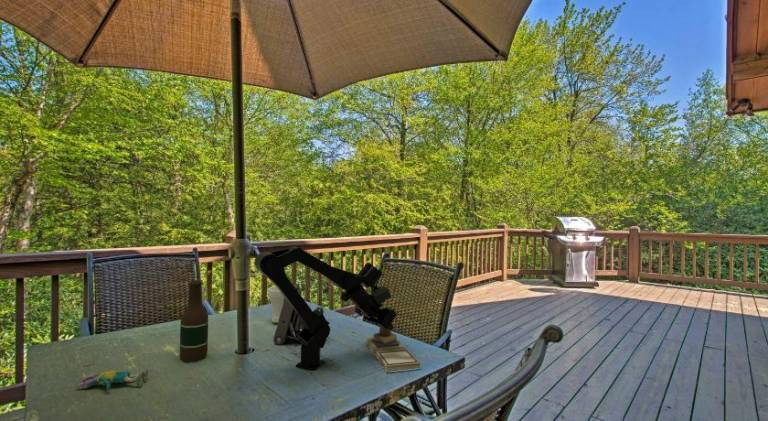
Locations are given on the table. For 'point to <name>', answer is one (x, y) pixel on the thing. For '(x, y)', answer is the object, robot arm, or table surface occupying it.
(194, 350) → the beer bottle
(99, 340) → the table surface
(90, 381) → the toy
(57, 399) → the table surface
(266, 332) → the table surface
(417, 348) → the table surface
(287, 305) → the camera
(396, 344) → the ink pad
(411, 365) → the board
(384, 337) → the stamp
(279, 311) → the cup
